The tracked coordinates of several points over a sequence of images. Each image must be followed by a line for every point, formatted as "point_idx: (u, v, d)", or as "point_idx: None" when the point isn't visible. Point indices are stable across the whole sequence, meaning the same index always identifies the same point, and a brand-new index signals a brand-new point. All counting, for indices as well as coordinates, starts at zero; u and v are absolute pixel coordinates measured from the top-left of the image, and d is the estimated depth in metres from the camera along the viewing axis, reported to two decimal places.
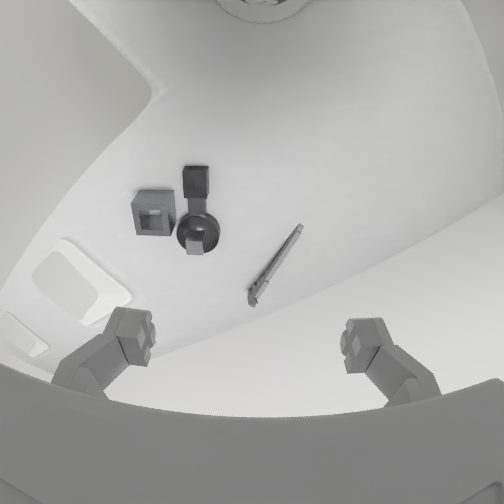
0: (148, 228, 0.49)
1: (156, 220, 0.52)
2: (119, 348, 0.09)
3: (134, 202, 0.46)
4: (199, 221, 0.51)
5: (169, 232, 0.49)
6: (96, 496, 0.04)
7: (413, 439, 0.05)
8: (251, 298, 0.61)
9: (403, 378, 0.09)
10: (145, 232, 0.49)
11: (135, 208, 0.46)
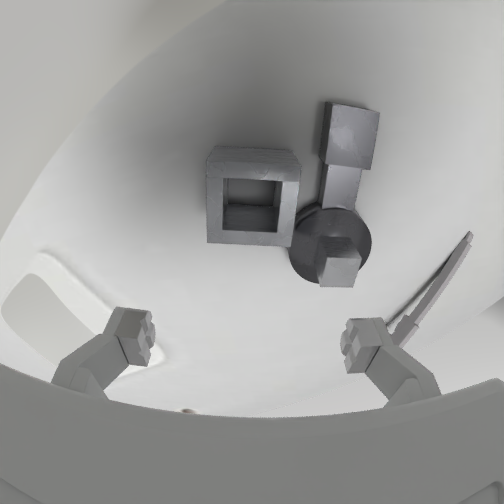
0: (238, 228, 0.22)
1: (248, 213, 0.25)
2: (119, 348, 0.09)
3: (215, 160, 0.19)
4: (345, 217, 0.24)
5: (289, 238, 0.22)
6: (96, 495, 0.04)
7: (413, 439, 0.05)
8: None
9: (403, 378, 0.09)
10: (230, 237, 0.22)
11: (216, 175, 0.20)
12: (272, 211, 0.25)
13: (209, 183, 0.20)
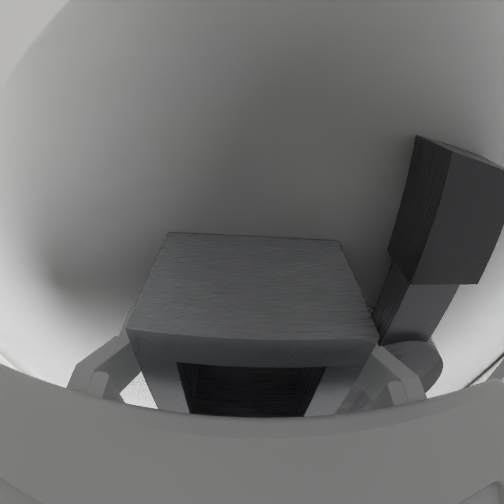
0: (223, 414, 0.10)
1: None
2: None
3: (149, 322, 0.07)
4: (416, 357, 0.12)
5: None
6: (96, 496, 0.04)
7: (413, 439, 0.05)
8: None
9: (388, 381, 0.09)
10: None
11: (158, 355, 0.07)
12: None
13: (146, 366, 0.08)
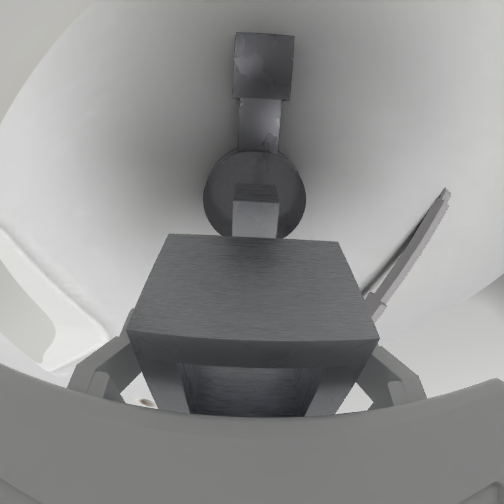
0: (223, 414, 0.10)
1: None
2: None
3: (149, 323, 0.07)
4: (266, 160, 0.20)
5: None
6: (96, 496, 0.04)
7: (413, 439, 0.05)
8: None
9: (388, 381, 0.09)
10: None
11: (159, 356, 0.07)
12: None
13: (147, 367, 0.08)
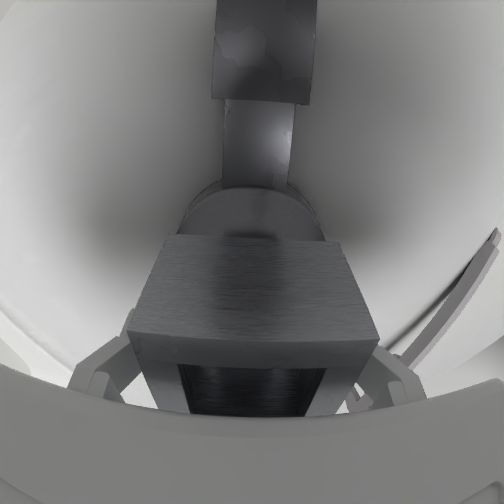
0: (224, 415, 0.10)
1: None
2: None
3: (150, 323, 0.07)
4: (268, 203, 0.13)
5: None
6: (97, 495, 0.04)
7: (413, 439, 0.05)
8: (362, 407, 0.21)
9: (388, 381, 0.09)
10: None
11: (159, 357, 0.07)
12: None
13: (147, 368, 0.08)
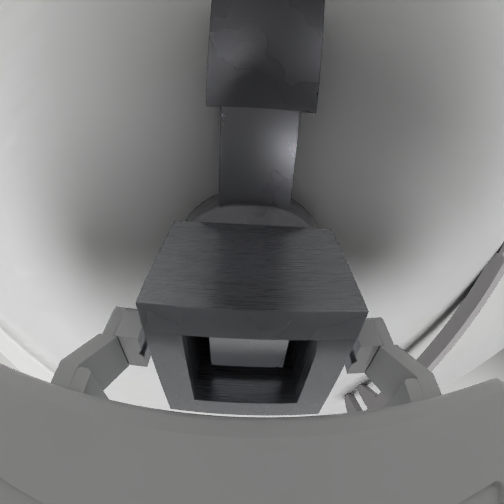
0: (224, 393, 0.11)
1: None
2: (119, 348, 0.09)
3: (157, 296, 0.08)
4: (269, 222, 0.12)
5: None
6: (96, 496, 0.04)
7: (413, 439, 0.05)
8: None
9: (403, 379, 0.09)
10: (211, 407, 0.11)
11: (165, 329, 0.08)
12: None
13: (153, 341, 0.08)
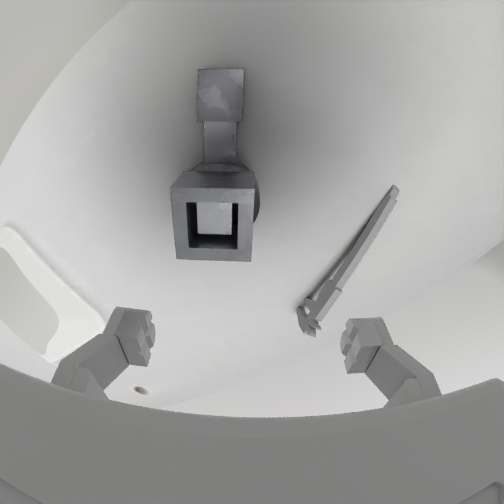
0: (203, 245, 0.25)
1: None
2: (119, 348, 0.09)
3: (178, 186, 0.22)
4: (225, 169, 0.26)
5: (249, 253, 0.25)
6: (96, 495, 0.04)
7: (413, 439, 0.05)
8: (308, 321, 0.34)
9: (403, 378, 0.09)
10: (196, 253, 0.25)
11: (179, 199, 0.22)
12: (237, 228, 0.28)
13: (174, 207, 0.22)
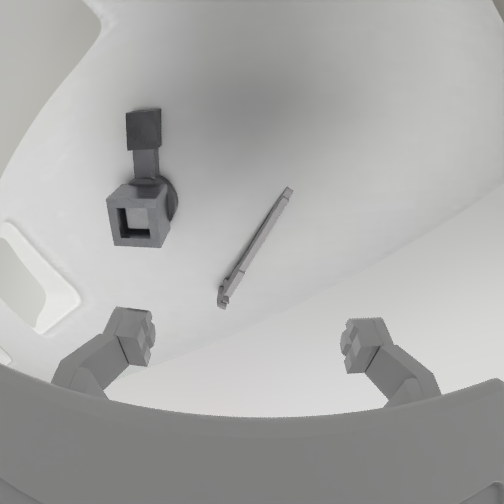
0: (130, 236, 0.34)
1: None
2: (119, 348, 0.09)
3: (111, 197, 0.31)
4: (148, 183, 0.35)
5: (159, 242, 0.34)
6: (96, 495, 0.04)
7: (413, 439, 0.05)
8: (221, 297, 0.44)
9: (403, 378, 0.09)
10: (126, 242, 0.34)
11: (112, 206, 0.32)
12: None
13: (109, 211, 0.32)
